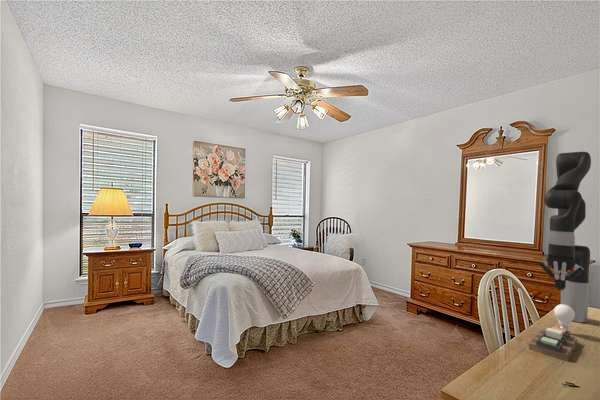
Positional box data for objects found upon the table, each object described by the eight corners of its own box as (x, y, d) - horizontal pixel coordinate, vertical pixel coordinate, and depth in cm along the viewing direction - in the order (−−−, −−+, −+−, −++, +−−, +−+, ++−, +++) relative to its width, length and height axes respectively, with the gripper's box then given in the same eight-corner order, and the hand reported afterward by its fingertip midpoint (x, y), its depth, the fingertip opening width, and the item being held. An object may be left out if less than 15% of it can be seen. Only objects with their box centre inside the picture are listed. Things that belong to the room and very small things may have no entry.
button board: (542, 333, 118) (543, 324, 118) (577, 343, 111) (577, 333, 111) (528, 349, 104) (529, 339, 104) (567, 361, 96) (567, 350, 96)
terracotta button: (552, 331, 116) (552, 326, 116) (566, 335, 113) (566, 329, 113) (550, 334, 113) (550, 328, 113) (564, 337, 110) (564, 332, 110)
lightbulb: (575, 337, 116) (576, 308, 116) (553, 332, 120) (554, 304, 120) (573, 332, 121) (574, 304, 121) (552, 327, 125) (553, 301, 125)
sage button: (543, 342, 105) (543, 336, 105) (558, 346, 102) (558, 340, 102) (540, 345, 102) (540, 339, 102) (555, 350, 99) (556, 343, 99)
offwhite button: (548, 332, 110) (548, 327, 110) (562, 336, 107) (562, 331, 107) (545, 335, 108) (545, 329, 108) (560, 339, 105) (560, 333, 105)
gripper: (586, 244, 111) (585, 292, 111) (541, 240, 121) (540, 284, 121) (584, 246, 106) (582, 296, 106) (537, 241, 116) (535, 287, 116)
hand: (560, 289), depth 114 cm, fingers closed
